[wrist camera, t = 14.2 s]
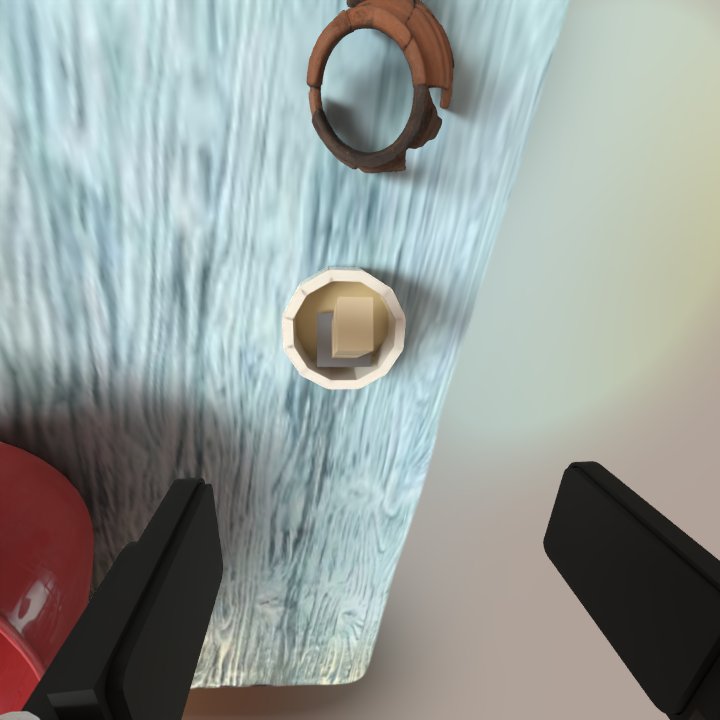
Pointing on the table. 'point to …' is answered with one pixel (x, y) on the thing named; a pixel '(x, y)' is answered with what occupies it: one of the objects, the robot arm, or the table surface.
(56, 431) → the table surface
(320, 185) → the table surface
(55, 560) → the mixing bowl
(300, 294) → the cream faceted bowl
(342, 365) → the wall mounted peg
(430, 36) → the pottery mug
